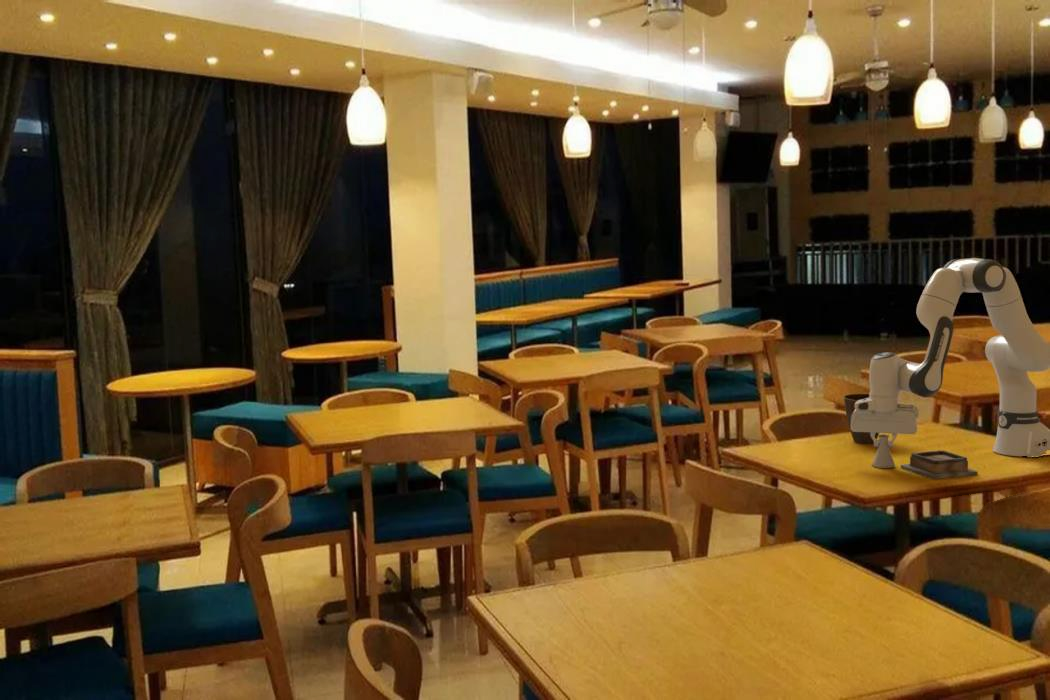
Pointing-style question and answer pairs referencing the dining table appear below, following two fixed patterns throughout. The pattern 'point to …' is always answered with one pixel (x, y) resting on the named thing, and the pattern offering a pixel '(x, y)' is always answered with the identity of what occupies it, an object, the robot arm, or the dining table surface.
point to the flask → (883, 454)
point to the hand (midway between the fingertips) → (883, 446)
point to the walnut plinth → (939, 465)
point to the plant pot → (850, 407)
